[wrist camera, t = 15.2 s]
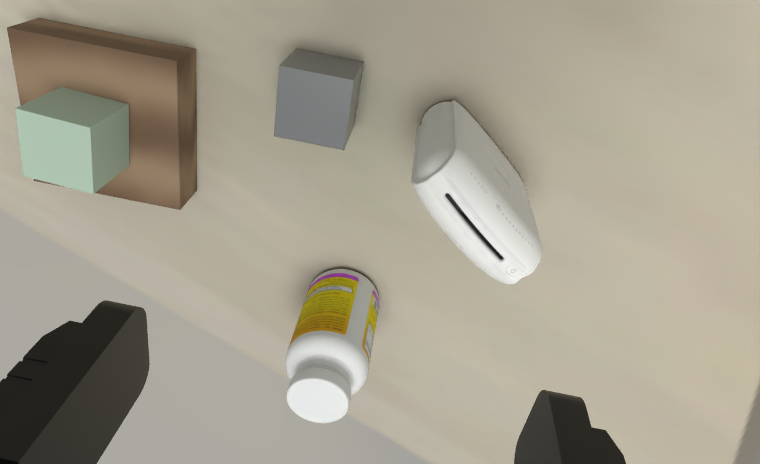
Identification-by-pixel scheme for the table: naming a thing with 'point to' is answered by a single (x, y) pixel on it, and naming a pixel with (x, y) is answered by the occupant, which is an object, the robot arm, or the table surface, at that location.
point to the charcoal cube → (317, 98)
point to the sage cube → (73, 139)
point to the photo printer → (475, 194)
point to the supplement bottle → (331, 345)
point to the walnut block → (122, 99)
